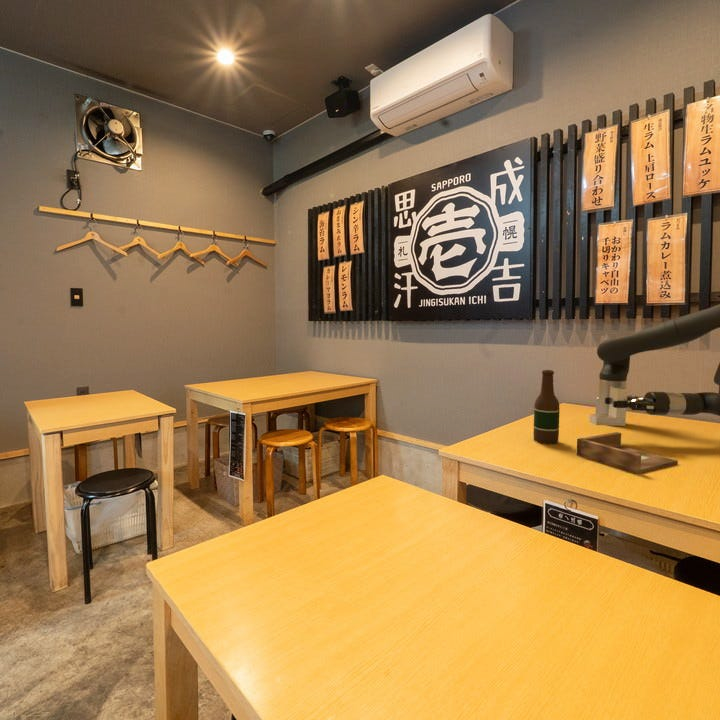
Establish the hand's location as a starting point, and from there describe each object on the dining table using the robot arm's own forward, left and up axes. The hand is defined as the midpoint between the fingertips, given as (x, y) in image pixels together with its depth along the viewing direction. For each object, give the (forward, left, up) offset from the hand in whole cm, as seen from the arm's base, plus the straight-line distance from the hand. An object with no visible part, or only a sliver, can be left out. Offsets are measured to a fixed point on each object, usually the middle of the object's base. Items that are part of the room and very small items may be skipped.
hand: (609, 402), depth 140 cm
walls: (+14, -12, -14) cm, 22 cm away
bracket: (0, 0, -7) cm, 7 cm away
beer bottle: (-10, -17, -14) cm, 24 cm away
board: (+14, -12, -14) cm, 22 cm away
